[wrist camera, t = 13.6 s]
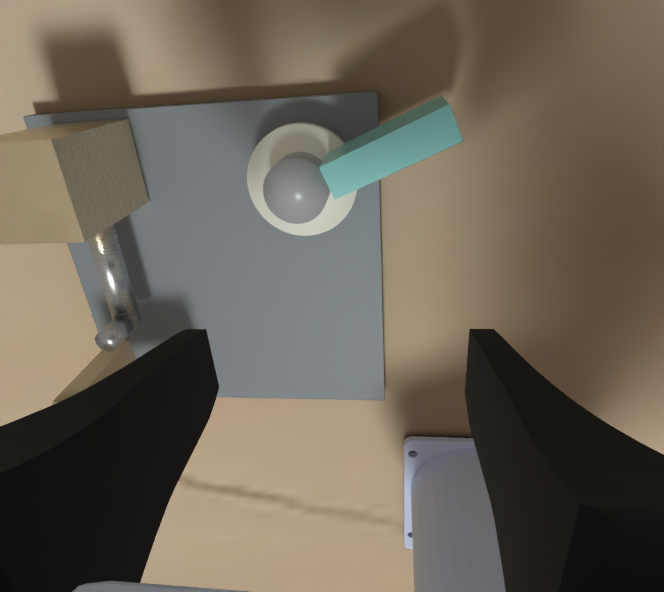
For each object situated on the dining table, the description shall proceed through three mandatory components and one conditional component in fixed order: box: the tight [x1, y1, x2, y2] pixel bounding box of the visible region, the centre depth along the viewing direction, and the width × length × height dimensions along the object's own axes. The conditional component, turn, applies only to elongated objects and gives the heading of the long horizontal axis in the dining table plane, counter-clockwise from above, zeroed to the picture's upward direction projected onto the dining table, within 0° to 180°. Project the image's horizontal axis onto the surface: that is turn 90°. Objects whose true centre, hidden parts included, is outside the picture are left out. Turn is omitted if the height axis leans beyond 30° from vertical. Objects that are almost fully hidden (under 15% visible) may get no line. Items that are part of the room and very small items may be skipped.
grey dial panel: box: [23, 91, 385, 405], centre depth 21 cm, size 15×15×6 cm
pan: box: [247, 96, 463, 236], centre depth 17 cm, size 8×4×3 cm, turn 116°
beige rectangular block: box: [0, 119, 149, 352], centre depth 20 cm, size 9×4×5 cm, turn 4°
